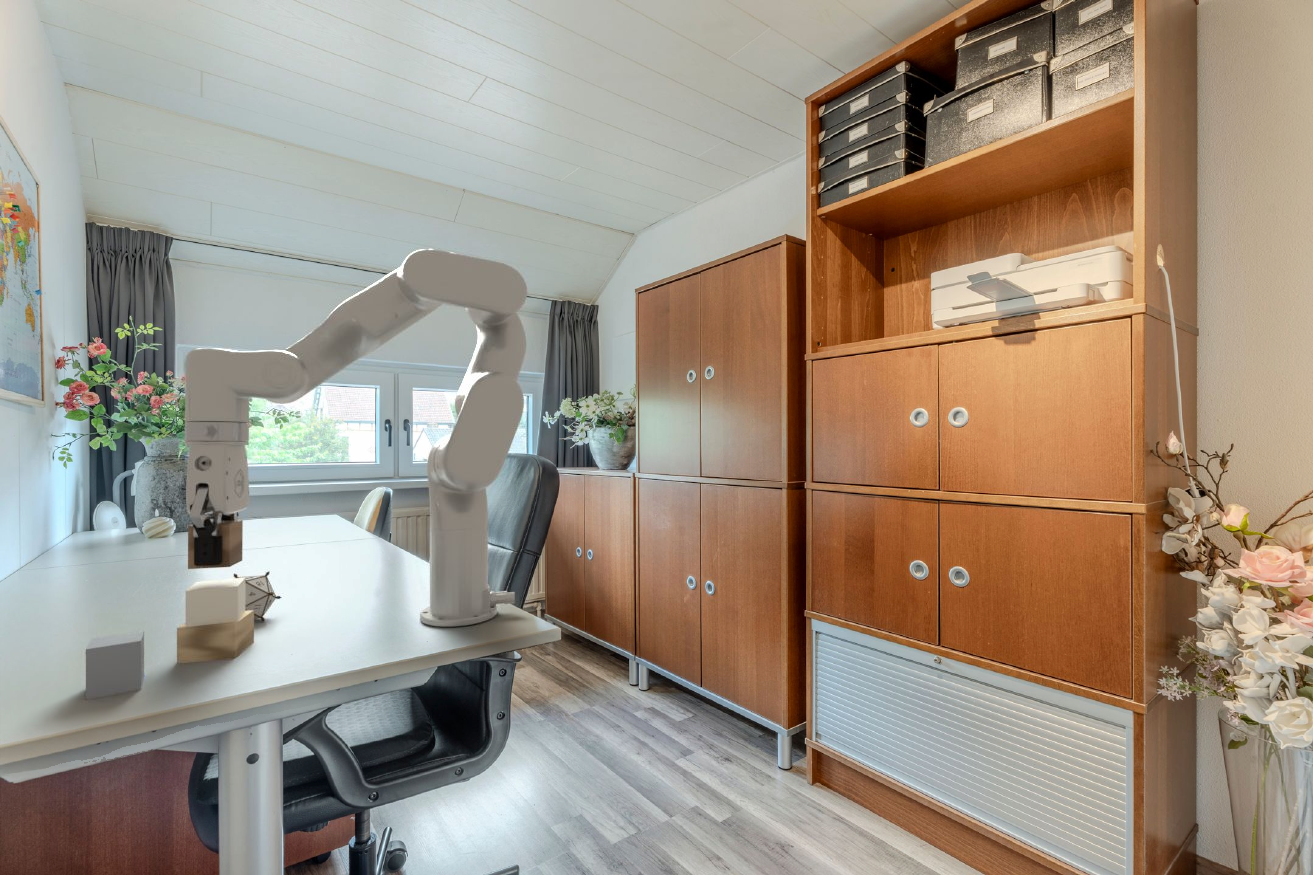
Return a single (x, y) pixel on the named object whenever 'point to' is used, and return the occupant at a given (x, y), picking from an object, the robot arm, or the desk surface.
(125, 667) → the slate block
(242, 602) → the tower top
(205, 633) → the tower base
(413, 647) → the desk surface
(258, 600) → the game die
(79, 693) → the desk surface
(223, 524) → the walnut block
